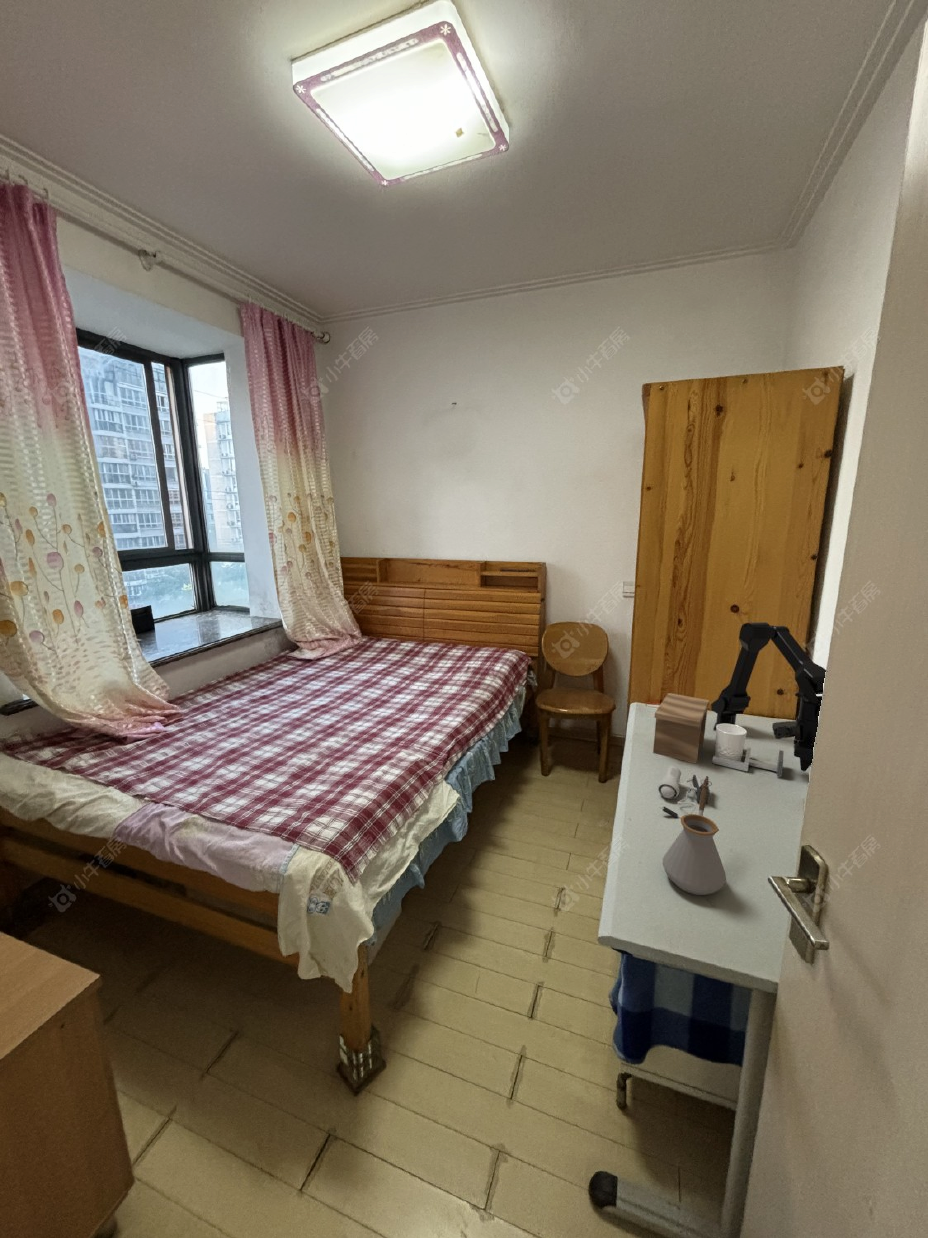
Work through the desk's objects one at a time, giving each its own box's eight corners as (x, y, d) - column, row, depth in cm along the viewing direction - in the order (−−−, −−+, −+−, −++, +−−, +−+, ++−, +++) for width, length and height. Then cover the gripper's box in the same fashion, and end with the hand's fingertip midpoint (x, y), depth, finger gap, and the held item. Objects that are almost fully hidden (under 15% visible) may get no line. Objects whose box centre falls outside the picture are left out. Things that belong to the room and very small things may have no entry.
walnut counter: (664, 732, 167) (668, 692, 164) (704, 741, 161) (709, 700, 158) (650, 756, 151) (654, 712, 148) (694, 767, 144) (699, 722, 141)
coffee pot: (722, 912, 92) (732, 839, 89) (656, 888, 97) (663, 820, 94) (728, 846, 110) (736, 784, 107) (672, 830, 115) (678, 770, 112)
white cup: (735, 754, 152) (739, 724, 150) (747, 767, 144) (751, 735, 142) (708, 753, 153) (712, 722, 151) (718, 766, 145) (722, 734, 143)
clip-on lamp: (699, 837, 118) (710, 788, 132) (704, 817, 115) (714, 769, 129) (648, 817, 123) (663, 772, 137) (651, 798, 121) (667, 754, 134)
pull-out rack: (716, 748, 155) (718, 735, 154) (781, 763, 146) (783, 749, 145) (712, 762, 146) (714, 748, 145) (780, 779, 137) (783, 764, 136)
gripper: (777, 701, 147) (770, 750, 150) (775, 722, 132) (768, 776, 135) (823, 708, 141) (815, 759, 144) (827, 732, 126) (818, 788, 129)
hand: (803, 770), depth 138 cm, fingers closed
